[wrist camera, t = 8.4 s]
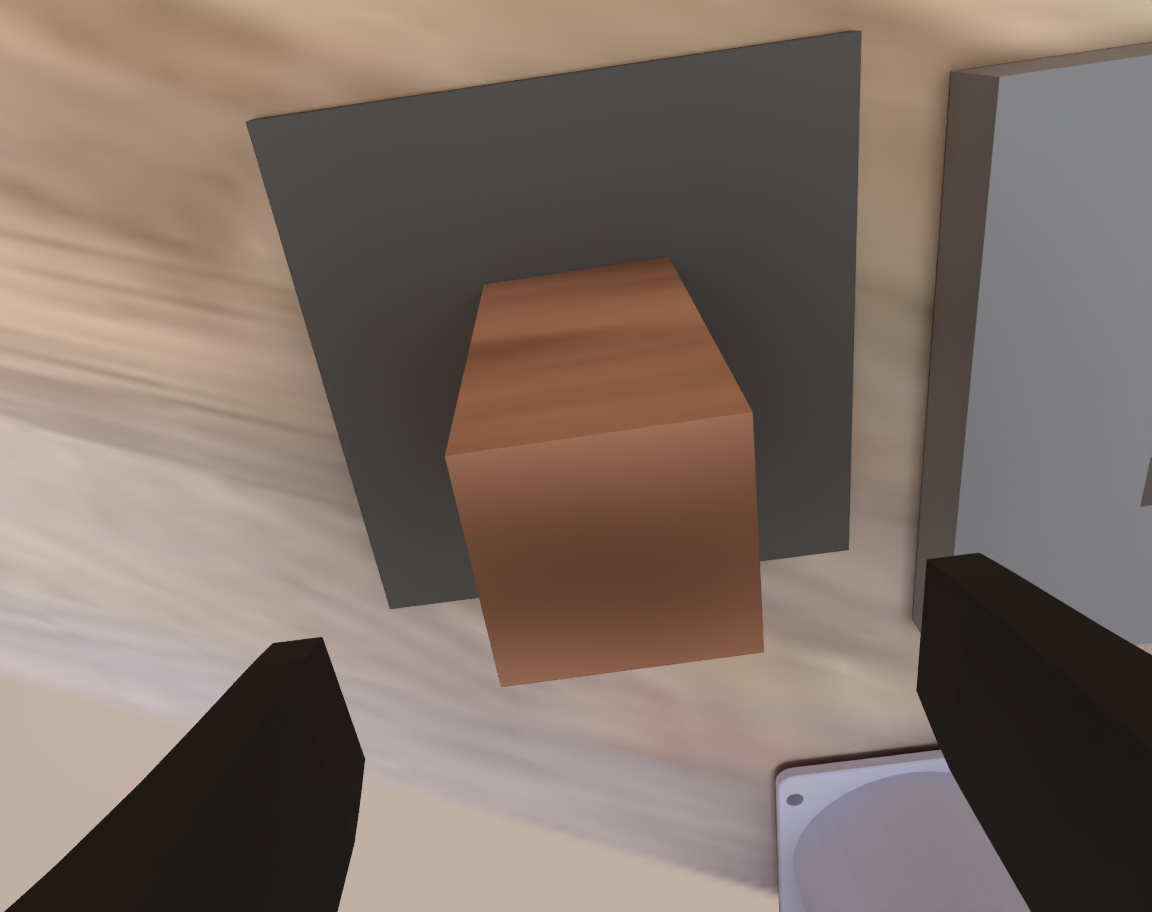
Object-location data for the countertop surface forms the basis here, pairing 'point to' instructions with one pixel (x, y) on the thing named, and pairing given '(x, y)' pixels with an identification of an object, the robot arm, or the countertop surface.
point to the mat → (579, 261)
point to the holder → (1046, 333)
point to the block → (605, 477)
